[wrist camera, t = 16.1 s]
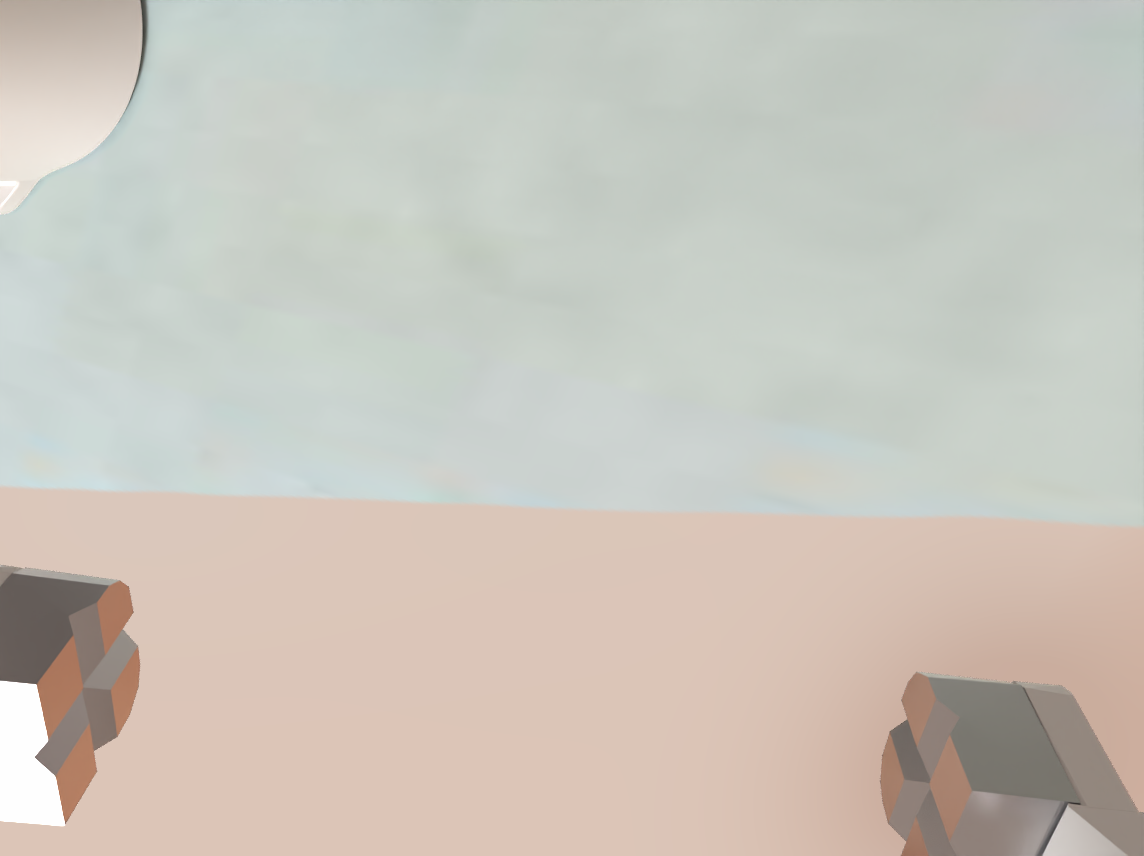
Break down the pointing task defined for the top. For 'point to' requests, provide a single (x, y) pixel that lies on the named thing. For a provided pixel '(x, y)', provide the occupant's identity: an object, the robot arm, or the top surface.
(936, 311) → the top surface
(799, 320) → the top surface
